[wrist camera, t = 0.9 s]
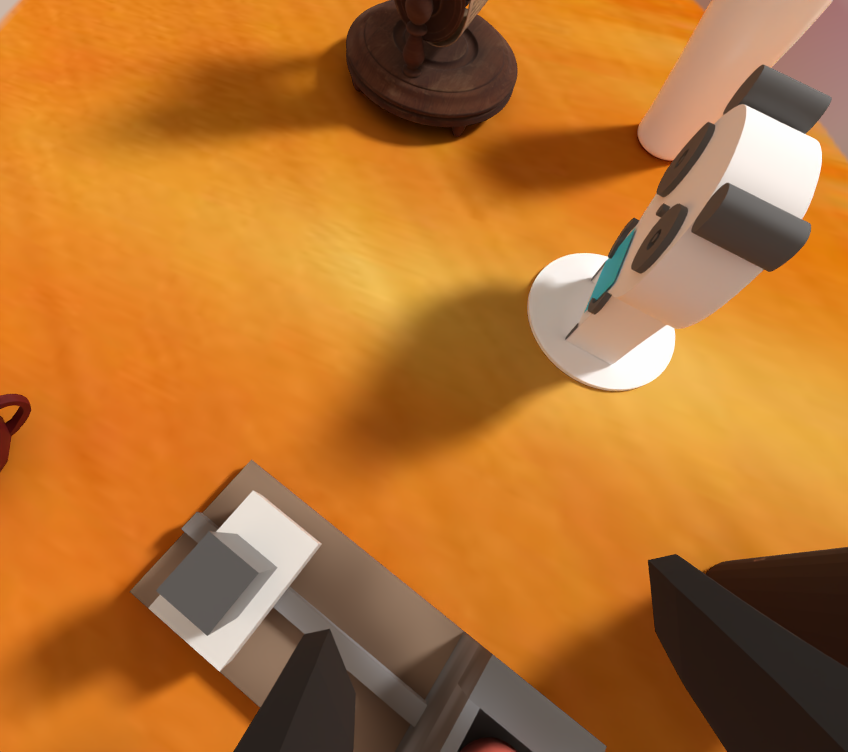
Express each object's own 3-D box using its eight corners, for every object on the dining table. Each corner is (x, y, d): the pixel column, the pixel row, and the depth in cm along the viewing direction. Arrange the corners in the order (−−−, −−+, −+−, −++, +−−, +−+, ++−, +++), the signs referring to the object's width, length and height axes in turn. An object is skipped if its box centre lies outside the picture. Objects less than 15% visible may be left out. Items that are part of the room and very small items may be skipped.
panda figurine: (561, 227, 35) (697, 16, 21) (688, 293, 34) (916, 121, 20) (503, 341, 30) (629, 165, 16) (649, 420, 29) (910, 308, 15)
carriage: (232, 659, 19) (182, 705, 14) (167, 602, 20) (93, 624, 14) (321, 544, 22) (309, 543, 16) (261, 495, 22) (229, 477, 16)
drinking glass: (627, 159, 39) (776, -55, 25) (626, 109, 41) (761, -109, 28) (696, 177, 39) (881, -23, 25) (691, 127, 42) (857, -79, 28)
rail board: (456, 883, 19) (496, 1020, 14) (133, 596, 21) (55, 614, 16) (545, 696, 22) (606, 746, 17) (255, 462, 24) (225, 439, 19)
